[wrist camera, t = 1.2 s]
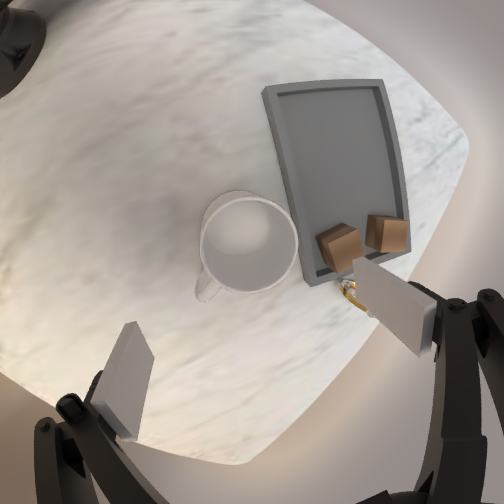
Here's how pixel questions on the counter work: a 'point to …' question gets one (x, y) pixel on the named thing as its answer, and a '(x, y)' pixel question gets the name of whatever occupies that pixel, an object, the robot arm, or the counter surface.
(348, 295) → the ring
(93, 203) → the counter surface
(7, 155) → the counter surface
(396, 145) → the tray
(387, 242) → the block
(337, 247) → the block
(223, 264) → the cup
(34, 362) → the counter surface
